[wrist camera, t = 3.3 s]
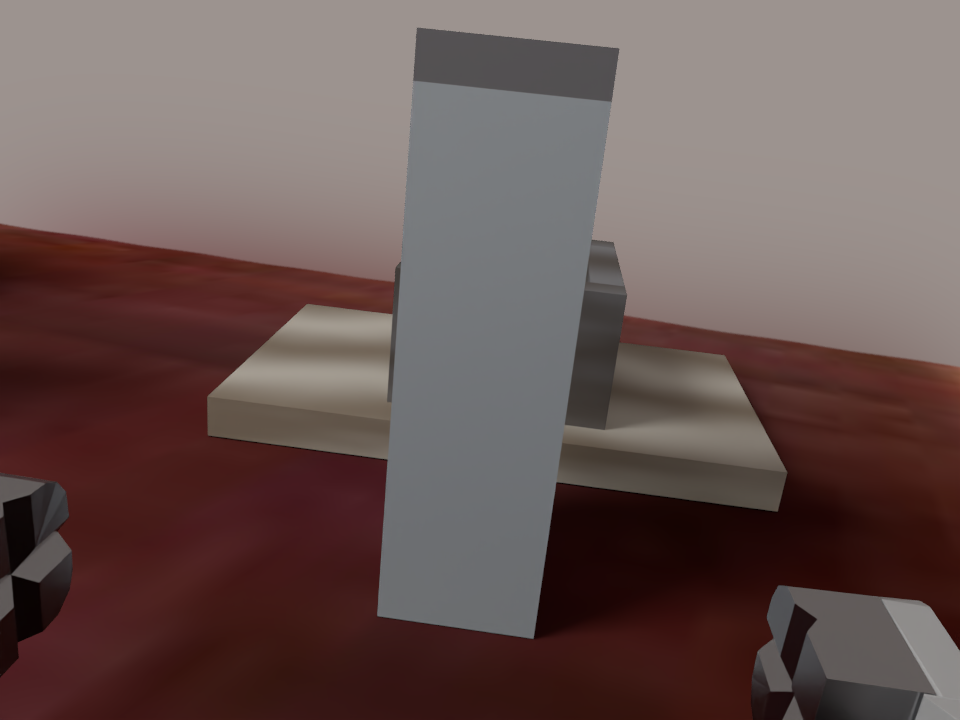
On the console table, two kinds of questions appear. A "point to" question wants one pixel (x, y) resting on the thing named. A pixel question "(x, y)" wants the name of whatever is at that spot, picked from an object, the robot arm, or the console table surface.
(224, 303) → the console table surface
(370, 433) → the post socket
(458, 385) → the grey tall block
